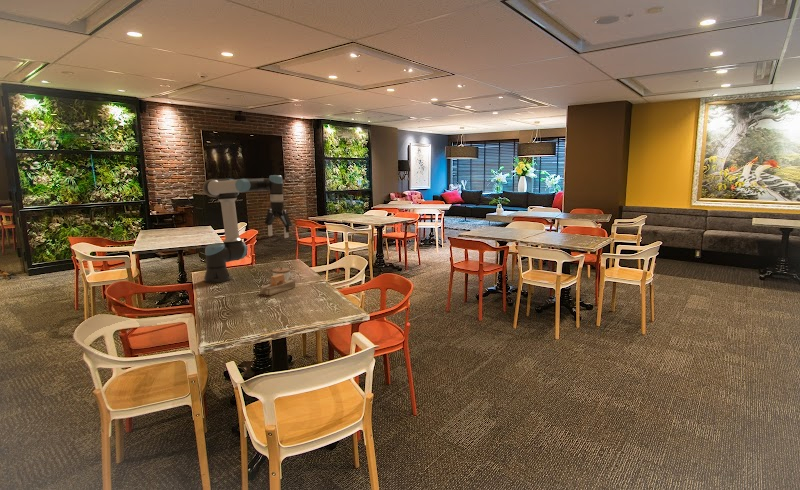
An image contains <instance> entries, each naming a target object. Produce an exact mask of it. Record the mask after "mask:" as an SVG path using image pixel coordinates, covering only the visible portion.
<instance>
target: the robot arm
mask: <svg viewBox="0 0 800 490" xmlns="http://www.w3.org/2000/svg"><path fill="white" fill-rule="evenodd" d="M202 191H203V193H204V194H205V195H207V197H210V198H217V201H218V202H220V206H221V215H222V221H223V229H224V237H225V239H224V240H223V241H222V242H215V243H212V244H211V243H210V244H208V245H207V246H205V248H204V255H205V264H206V267H205V268H206V271H205V275H204V282H205V283H209V284H214V283H215V284H217V283H223V282H228V281H229V280H230V279H231V275H230V273H229V270H228V269H227V263H229V262H230V263H231V262H234V261H239V260H242V259H245V257H246V256H247V253H248V247H247V245H246V242H244V241H243V239H242V238H241V237H240V232H239V225H238V224H239V223H238V216H237V209H236V200H238V198H237V197H238V196H239V194H240V193H247V192H248V193H250V192H269V196H270V198H269V199H270V208H268V209H267V213H266V216H265V220H264V224H265V225H267V226H266V227H267V232H268V235H267V236H268V237H271V236H274V235H273V221H274V220H275V218H279V219H280V221H281V222H282V224H283V225H284V227H283V231H284V232H283V234H284V235H283V236H284V239H287V238H289V237H290V227H292V226H293V225H292V222H291V219H290V217H289V214H288V210H287V209H284V206H285V205H284V181H283V176H282V175H280V174H278V175H277V174H273V175H272V174H271V175H269V177H268V178H264V177H260V178H238V179H234V178H210V179H208V180H206V181H204V183H203V185H202Z"/></svg>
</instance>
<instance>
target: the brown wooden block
mask: <svg viewBox="0 0 800 490" xmlns="http://www.w3.org/2000/svg"><path fill="white" fill-rule="evenodd" d="M294 288H296V280H293V279H288V280H287V279H285V283H283V284H282V283H279V281H278V282H277V286H272V285H271V283H269V284H265V285H262V286H259V291H260V292H259V293H260V294H261V295H265V296H273V295H276V294H279V293H283V292H285V291H289V290H291V289H294Z"/></svg>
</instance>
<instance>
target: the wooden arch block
mask: <svg viewBox="0 0 800 490" xmlns="http://www.w3.org/2000/svg"><path fill="white" fill-rule="evenodd" d="M278 281H279V283H282V284H283V283H285V277H284V274H278V275H275V276H273V275H272V276H270V284H271V285H272V286H277V282H278Z"/></svg>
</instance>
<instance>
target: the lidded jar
mask: <svg viewBox="0 0 800 490" xmlns="http://www.w3.org/2000/svg"><path fill="white" fill-rule="evenodd" d="M278 274H284V277H285V279H287V280H290V277H291V268H288V267H283V266H280V267H278V268H273V269H272V276H275V275H278Z"/></svg>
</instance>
